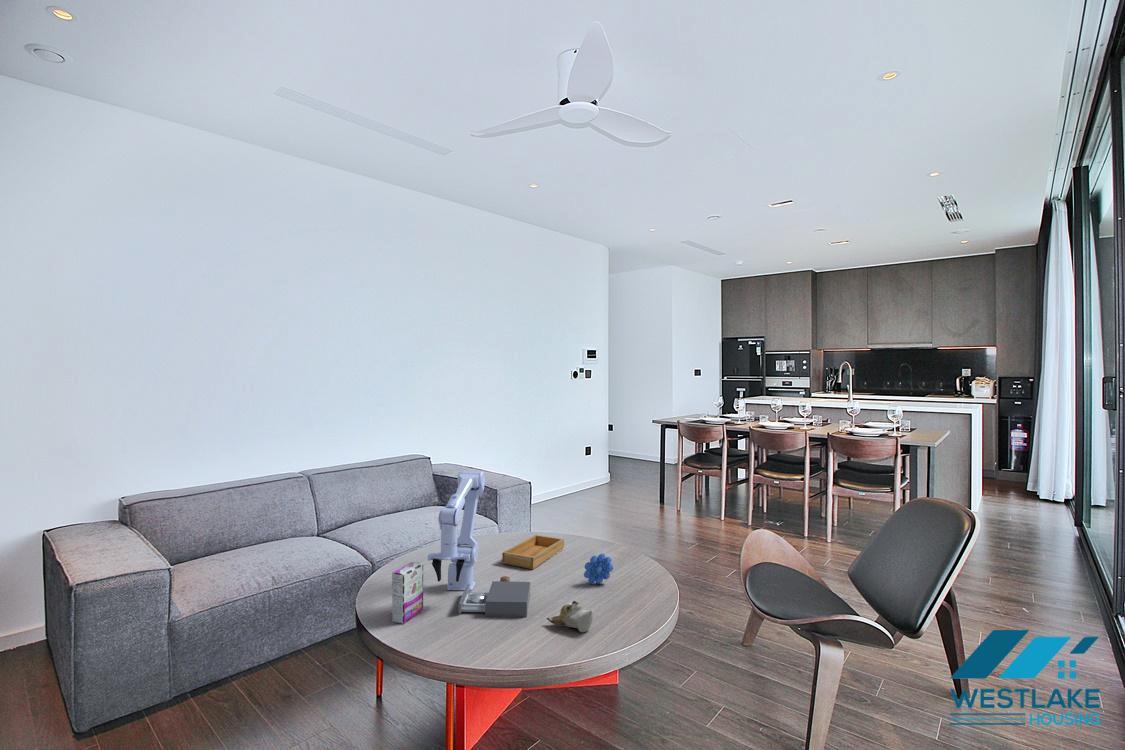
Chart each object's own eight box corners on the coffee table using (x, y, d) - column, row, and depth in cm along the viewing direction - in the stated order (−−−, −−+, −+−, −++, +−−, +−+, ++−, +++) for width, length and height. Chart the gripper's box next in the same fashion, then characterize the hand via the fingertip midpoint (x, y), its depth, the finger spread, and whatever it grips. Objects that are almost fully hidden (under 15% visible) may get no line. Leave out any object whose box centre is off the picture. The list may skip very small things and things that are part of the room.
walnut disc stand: (496, 591, 205) (496, 580, 205) (497, 585, 211) (498, 574, 211) (511, 591, 205) (512, 581, 205) (513, 585, 211) (513, 575, 211)
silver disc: (484, 604, 190) (484, 599, 190) (468, 603, 190) (468, 598, 190) (486, 597, 196) (486, 592, 196) (471, 597, 196) (471, 592, 196)
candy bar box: (411, 608, 189) (412, 561, 189) (423, 610, 188) (424, 563, 188) (390, 622, 179) (391, 572, 179) (403, 624, 177) (404, 574, 177)
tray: (535, 545, 262) (535, 533, 262) (563, 550, 256) (564, 538, 256) (501, 565, 234) (502, 552, 234) (533, 571, 228) (533, 557, 228)
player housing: (485, 616, 184) (485, 601, 184) (492, 594, 202) (492, 581, 202) (526, 617, 184) (527, 602, 184) (530, 595, 202) (530, 581, 202)
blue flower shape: (611, 579, 219) (611, 549, 219) (614, 586, 212) (614, 555, 212) (582, 580, 218) (582, 550, 218) (584, 586, 211) (584, 555, 211)
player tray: (458, 613, 184) (458, 603, 184) (467, 593, 202) (467, 583, 202) (497, 614, 184) (498, 604, 184) (503, 593, 202) (503, 584, 202)
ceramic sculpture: (581, 611, 169) (544, 601, 178) (582, 639, 169) (545, 628, 178) (601, 600, 177) (565, 591, 187) (601, 627, 177) (565, 617, 186)
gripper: (425, 545, 189) (425, 584, 189) (467, 546, 189) (466, 585, 189) (430, 539, 196) (430, 576, 196) (471, 539, 196) (470, 577, 196)
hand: (448, 580), depth 193 cm, fingers open, 6 cm apart
